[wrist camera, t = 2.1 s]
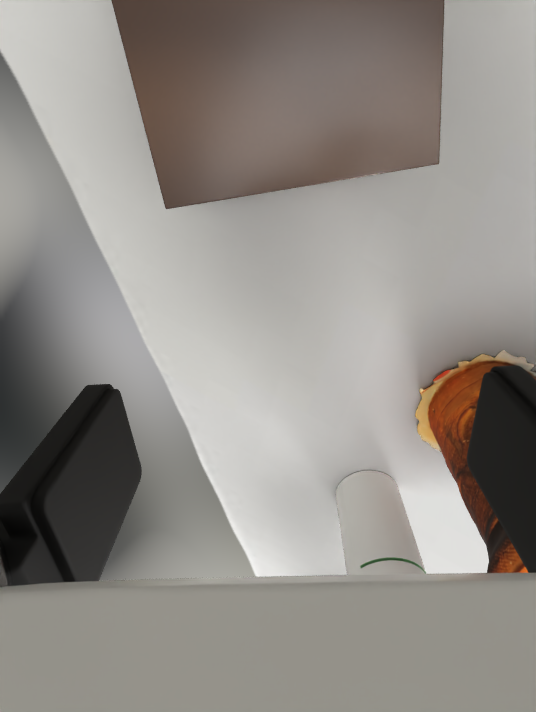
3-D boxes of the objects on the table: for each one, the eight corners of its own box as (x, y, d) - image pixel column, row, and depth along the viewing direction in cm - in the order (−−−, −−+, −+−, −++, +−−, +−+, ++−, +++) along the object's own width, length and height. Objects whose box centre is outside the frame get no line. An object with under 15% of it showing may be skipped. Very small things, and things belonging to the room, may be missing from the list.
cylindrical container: (323, 500, 48) (357, 809, 26) (360, 460, 45) (435, 772, 23) (372, 523, 49) (443, 834, 27) (411, 487, 46) (527, 803, 24)
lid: (72, -168, 18) (-10, -289, 13) (446, -269, 16) (519, -453, 11) (168, 207, 25) (140, 224, 20) (434, 163, 23) (476, 169, 18)
